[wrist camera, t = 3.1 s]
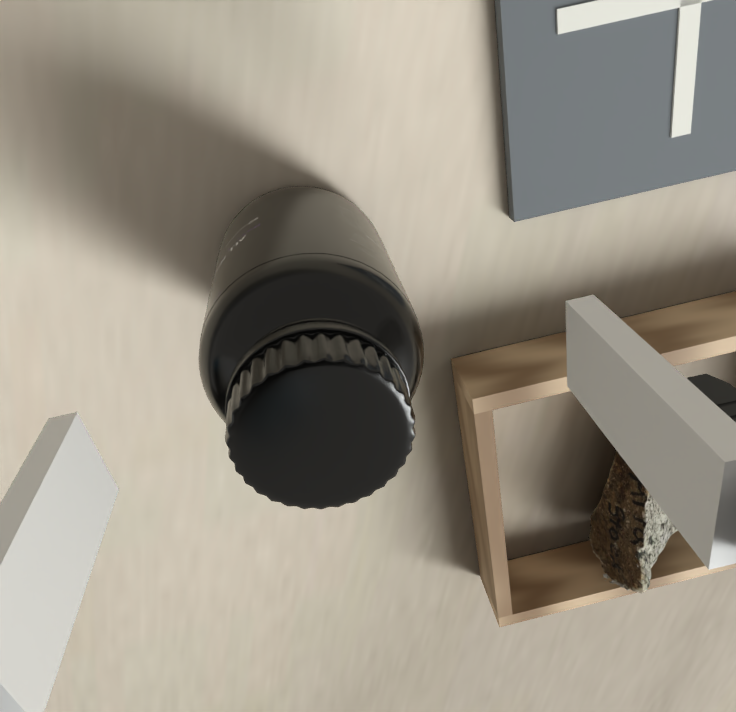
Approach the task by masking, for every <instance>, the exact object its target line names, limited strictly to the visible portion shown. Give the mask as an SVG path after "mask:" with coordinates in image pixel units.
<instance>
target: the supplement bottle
mask: <svg viewBox="0 0 736 712" xmlns="http://www.w3.org/2000/svg"><path fill="white" fill-rule="evenodd" d="M423 359H424V347H423V339H422V333H421V330H420V326H419V323H418V320H417V317H416V315H415V312H414V310H413V308H412V305H411V303H410V301H409V299H408V297H407V294H406V292H405V290H404V288H403V286H402V284H401V281H400V279H399V277H398V275H397V273H396V271H395V268H394V266H393V264H392V262H391V260H390V258H389V255H388V253H387V251H386V249H385V247H384V245H383V242H382V240H381V238H380V237H379V235H378V233H377V231H376V229H375V227H374V226H373V224H372V223H371V221H370V220H369V219H368V217H367V216H366V215H365V214H364V213H363V212H362V211H361V210H360V209H359V208H358V207H357V206H356V205H354V204H353V203H352V202H351V201H349V200H347V199H346V198H344V197H342V196H340V195H338V194H336V193H334V192H331V191H328V190H325V189H321V188H316V187H307V186H295V187H287V188H282V189H278V190H275V191H272V192H269V193H267V194H265V195H262V196H261V197H259V198H257V199H255V200H254V201H252V202H251V203H250V204H248V205H247V206H246V207H245V208H244V209H243V210H242V211H241V212H240V213H239V214H238V215H237V216H236V217H235V219H234V220H233V221H232V223H231V224H230V226H229V228H228V230H227V231H226V234H225V236H224V238H223V241H222V244H221V247H220V251H219V254H218V259H217V263H216V268H215V273H214V277H213V282H212V287H211V291H210V296H209V301H208V305H207V310H206V314H205V319H204V324H203V329H202V334H201V339H200V348H199V370H200V376H201V380H202V384H203V387H204V390H205V392H206V395H207V397H208V399H209V401H210V403H211V405H212V406H213V408H214V409H215V411H216V412H217V414H218V415H219V416H220V417H221V419H222V420H223V421H224V422H225V423H226V434H225V441H226V444H227V446H228V447H229V452H228V454H229V458H230V459H231V460H232V461H233V462H234V463H235V470H236V472H238V473H239V474H240V475H242V476H243V478H244V481H245V483H246V484H248V485H250V486H252V487H254V489H255V490H256V492H257V493H259V494H262V495H265V496H267V497H268V498H269V499H270V500H271V501H276V502H281V503H283V504H284V505H286V506H298V507H300V508H303V509H307V508H317V509H324V508H327V507H340V506H342V505H344V504H346V503H354V502H356V501H358V500H359V499H360V498H363V497H367V496H370V495H371V494H372V493H373V492H374V491H375V490H377V489H380V488H382V487H384V486H385V484H386V483H387V481H388V480H390V479H391V478H393V477H395V476H396V474H397V472H398V469H399V468H400V467H402V466H403V465H404V464H405V462H406V456H407V455H408V454H409V453H410V452H411V450H412V441H413V439H414V437H415V429H414V423H415V415H414V412H413V409H412V406H411V400H412V398H413V396H414V394H415V392H416V389H417V387H418V384H419V381H420V377H421V374H422V368H423Z"/></svg>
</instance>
